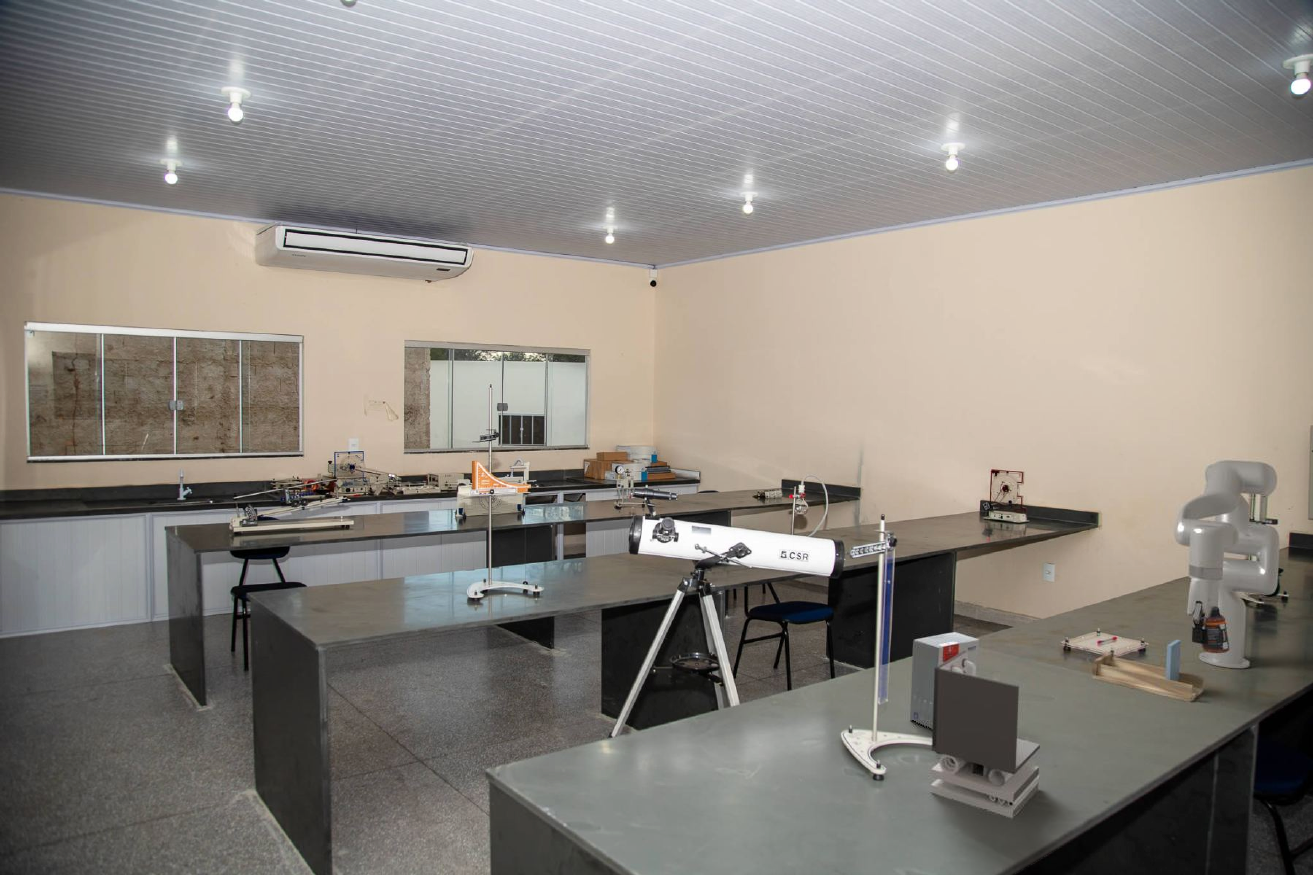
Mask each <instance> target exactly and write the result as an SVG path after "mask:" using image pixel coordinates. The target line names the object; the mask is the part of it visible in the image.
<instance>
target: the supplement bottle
mask: <svg viewBox="0 0 1313 875" xmlns="http://www.w3.org/2000/svg"><path fill="white" fill-rule="evenodd" d="M1200 616H1203V617H1204V616H1205V615H1203V614H1202V615H1200ZM1200 620H1202V621H1203V619H1200ZM1206 629H1207V643H1206V644H1201V646H1202V650H1203V652H1204V651H1206V652H1209V653H1225V652H1227V651H1229V642H1228V636H1227V628H1226V622H1225V618H1224V617H1223V616H1222V615H1221V614H1220V611H1219V608H1218V607H1215V608H1214V609H1212V613H1211V617H1209V618H1207V622H1206Z"/></svg>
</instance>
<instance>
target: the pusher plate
mask: <svg viewBox="0 0 1313 875" xmlns="http://www.w3.org/2000/svg"><path fill="white" fill-rule="evenodd" d="M1180 661H1181V640H1180V639H1175V640H1173V641H1172V642H1170V643H1169V644H1167V645H1166V662H1165V663H1166V664H1165V666H1166V667H1165V668H1166V679H1168V680H1172V681H1177V682H1179V671H1180Z"/></svg>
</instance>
